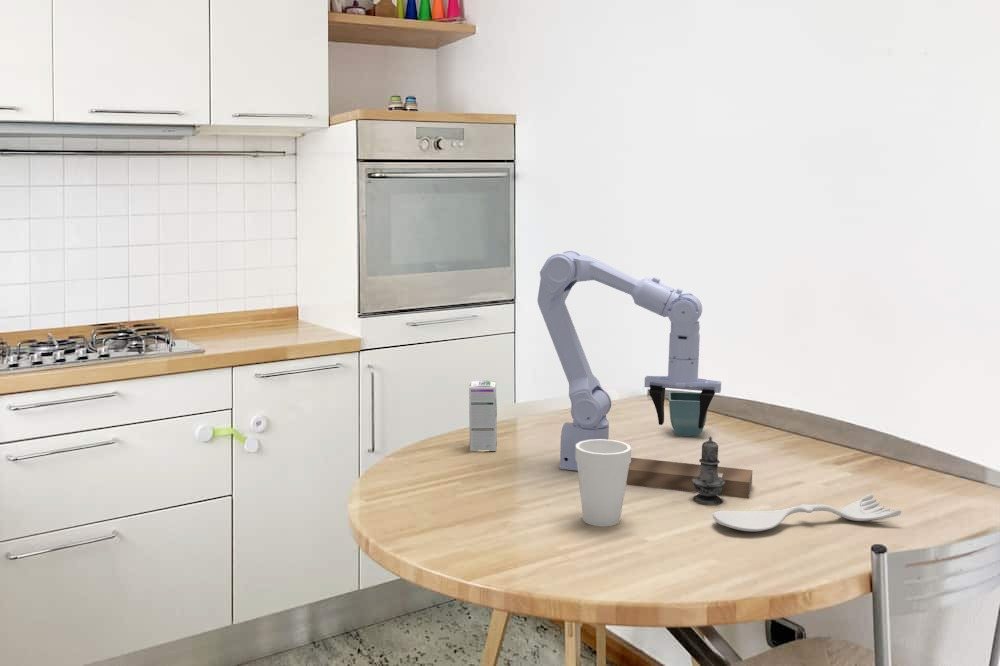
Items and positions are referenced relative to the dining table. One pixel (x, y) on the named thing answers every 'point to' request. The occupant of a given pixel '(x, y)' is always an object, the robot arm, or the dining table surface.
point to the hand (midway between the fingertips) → (680, 425)
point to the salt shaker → (708, 476)
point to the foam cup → (602, 479)
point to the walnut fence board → (685, 476)
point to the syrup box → (483, 415)
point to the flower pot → (685, 413)
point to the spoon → (770, 519)
